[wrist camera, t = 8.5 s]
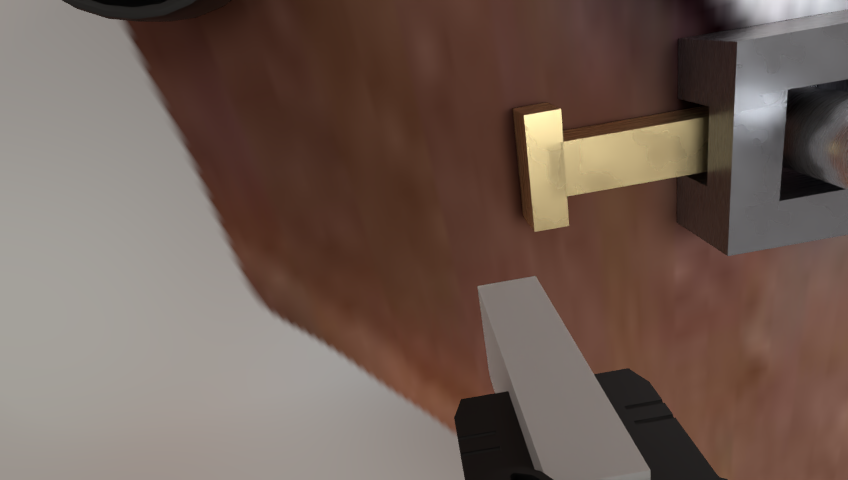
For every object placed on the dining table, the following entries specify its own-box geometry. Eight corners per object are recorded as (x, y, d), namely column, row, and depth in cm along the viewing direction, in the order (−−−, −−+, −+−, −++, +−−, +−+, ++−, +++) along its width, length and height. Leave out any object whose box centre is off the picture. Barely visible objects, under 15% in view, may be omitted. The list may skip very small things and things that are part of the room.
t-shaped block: (512, 108, 29) (523, 115, 27) (721, 72, 29) (749, 76, 27) (523, 217, 31) (534, 231, 29) (717, 182, 31) (743, 194, 29)
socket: (678, 38, 28) (737, 41, 24) (870, 5, 29) (966, 1, 24) (676, 222, 32) (727, 255, 27) (847, 192, 32) (926, 220, 28)
